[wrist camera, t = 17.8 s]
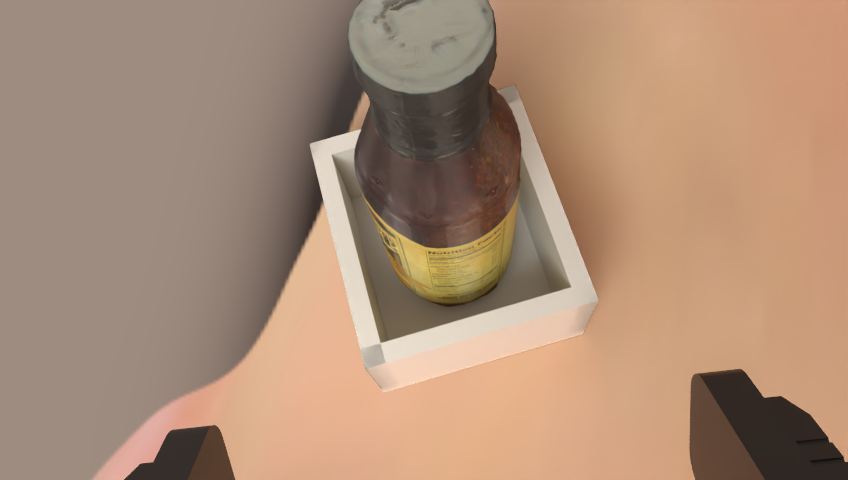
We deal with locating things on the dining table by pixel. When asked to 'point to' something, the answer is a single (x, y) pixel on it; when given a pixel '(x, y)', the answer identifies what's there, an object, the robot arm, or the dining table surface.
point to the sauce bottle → (436, 144)
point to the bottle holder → (472, 322)
